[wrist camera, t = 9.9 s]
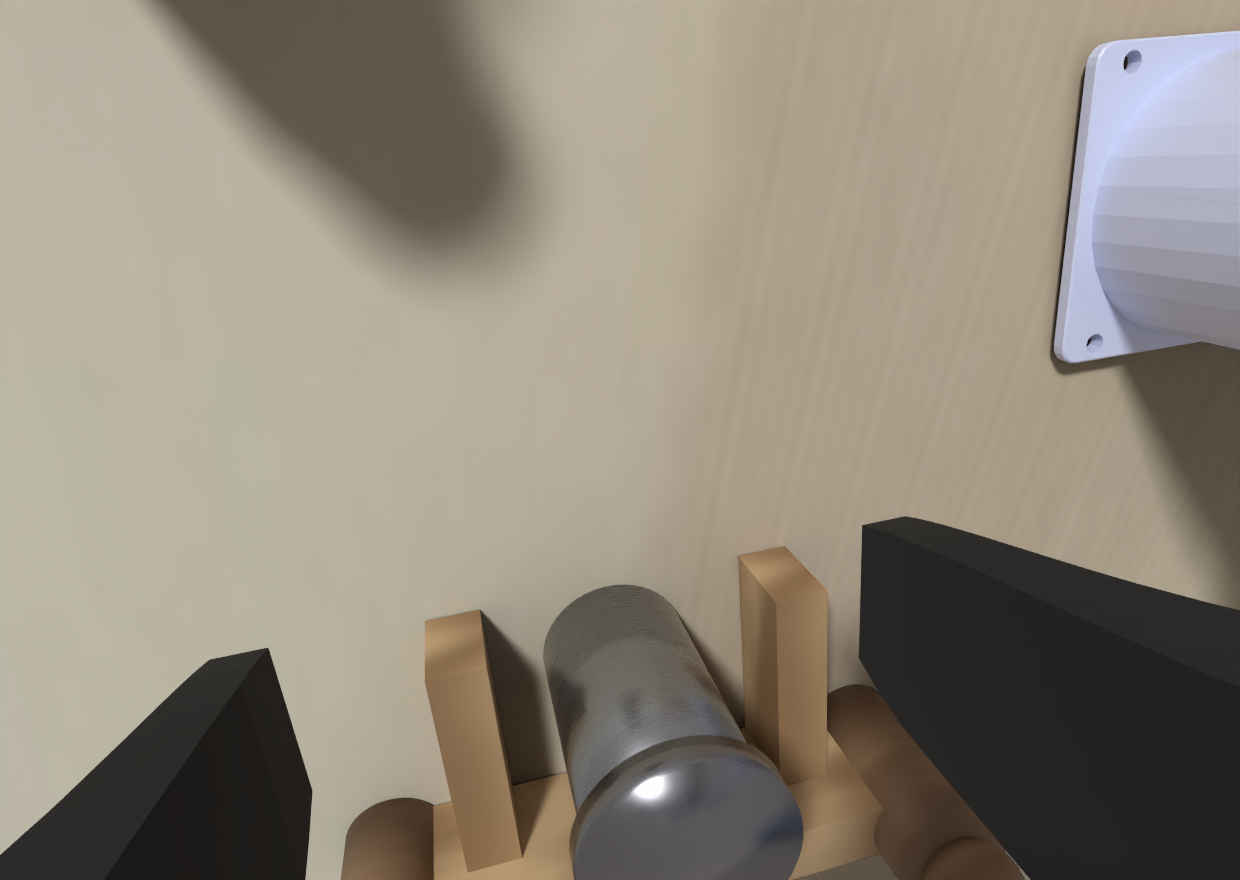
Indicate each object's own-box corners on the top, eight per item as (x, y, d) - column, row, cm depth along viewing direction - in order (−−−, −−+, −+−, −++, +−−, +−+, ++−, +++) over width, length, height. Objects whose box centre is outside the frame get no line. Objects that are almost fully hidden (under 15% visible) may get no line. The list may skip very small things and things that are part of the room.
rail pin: (683, 557, 21) (797, 737, 14) (700, 692, 22) (809, 907, 16) (517, 598, 20) (556, 806, 13) (548, 734, 22) (595, 978, 15)
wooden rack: (893, 523, 22) (1100, 681, 15) (883, 745, 25) (1055, 961, 18) (286, 650, 19) (206, 918, 12) (357, 886, 22) (325, 1211, 15)
